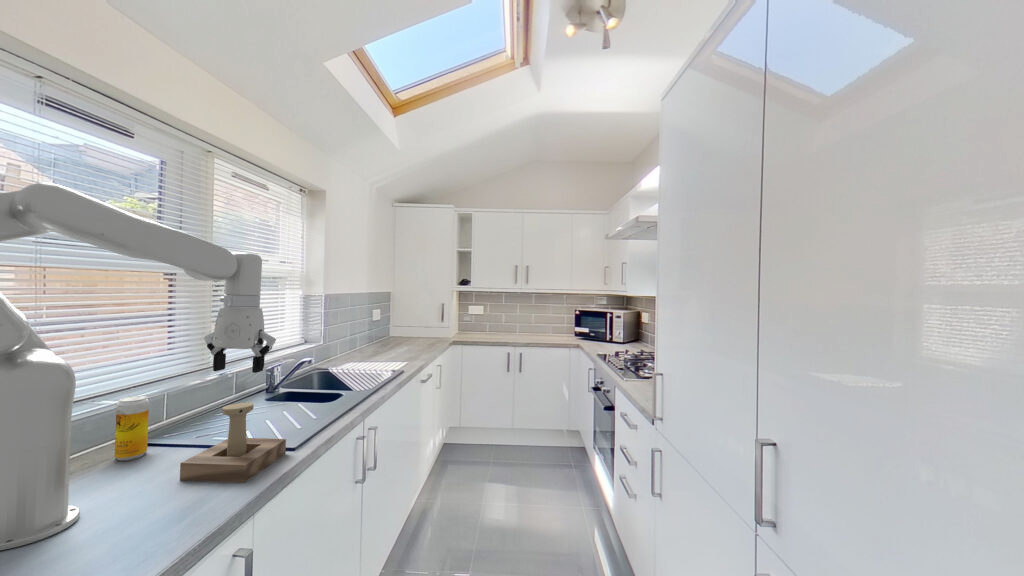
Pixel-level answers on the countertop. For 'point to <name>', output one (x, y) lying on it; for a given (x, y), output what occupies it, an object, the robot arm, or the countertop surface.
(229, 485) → the countertop surface
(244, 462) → the keyed socket block
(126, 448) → the beer can
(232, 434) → the tan flared peg
